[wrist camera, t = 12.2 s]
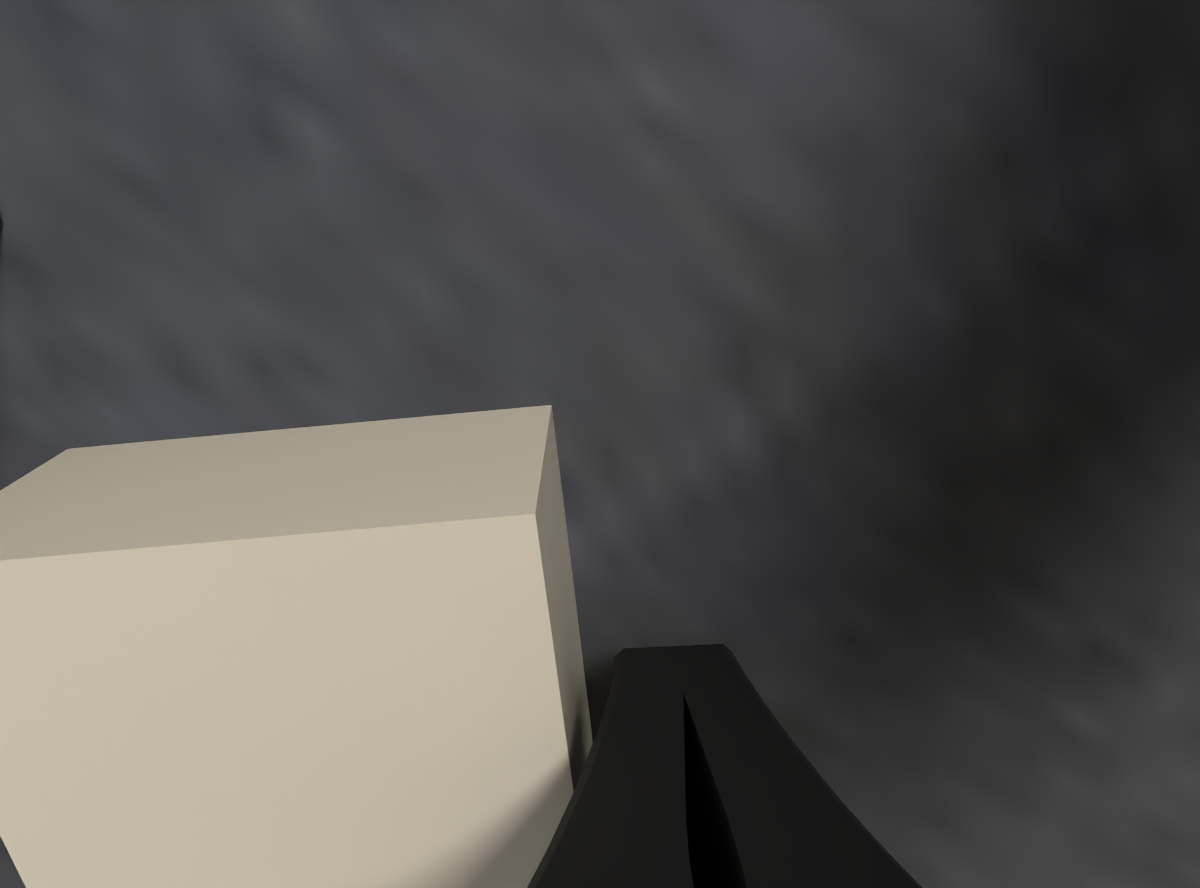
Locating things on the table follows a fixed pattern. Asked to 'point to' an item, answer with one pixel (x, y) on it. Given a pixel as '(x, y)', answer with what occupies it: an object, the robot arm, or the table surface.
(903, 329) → the table surface
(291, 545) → the sand tile
